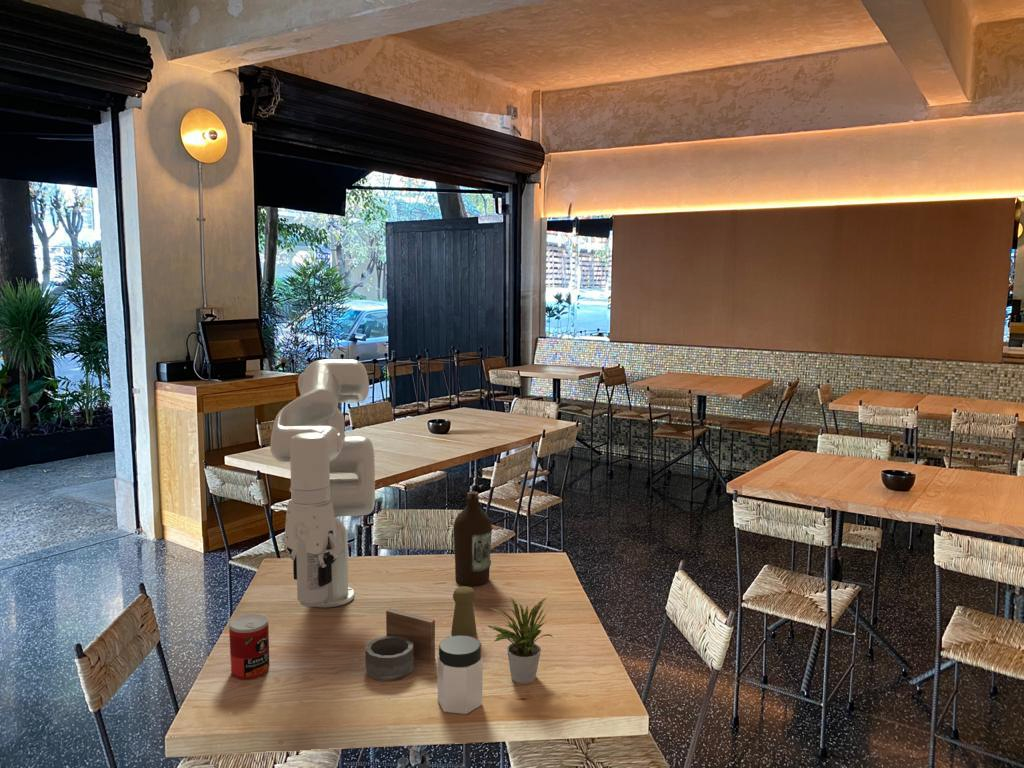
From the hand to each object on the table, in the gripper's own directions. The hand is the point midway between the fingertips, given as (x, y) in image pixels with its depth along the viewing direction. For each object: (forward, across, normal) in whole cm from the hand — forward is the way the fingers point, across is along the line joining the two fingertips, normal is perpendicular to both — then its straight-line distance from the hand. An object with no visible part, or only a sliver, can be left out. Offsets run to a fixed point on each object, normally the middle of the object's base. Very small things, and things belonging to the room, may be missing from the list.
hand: (312, 579), depth 152 cm
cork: (+22, +16, +33) cm, 42 cm away
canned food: (+22, -14, -5) cm, 26 cm away
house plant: (+21, +37, +23) cm, 48 cm away
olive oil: (+22, 0, +62) cm, 65 cm away
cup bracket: (+21, +11, +13) cm, 27 cm away
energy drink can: (+5, 0, 0) cm, 5 cm away
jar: (+21, +31, +7) cm, 38 cm away
